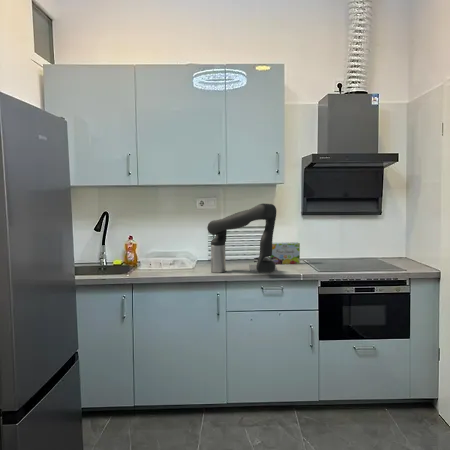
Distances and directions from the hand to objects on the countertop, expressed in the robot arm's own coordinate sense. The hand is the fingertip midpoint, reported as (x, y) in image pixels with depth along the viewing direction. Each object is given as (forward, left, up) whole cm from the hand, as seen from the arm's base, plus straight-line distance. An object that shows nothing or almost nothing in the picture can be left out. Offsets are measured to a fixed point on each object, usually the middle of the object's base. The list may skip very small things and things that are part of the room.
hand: (263, 258), depth 278 cm
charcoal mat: (0, +5, -8) cm, 9 cm away
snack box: (+16, +26, -8) cm, 32 cm away
